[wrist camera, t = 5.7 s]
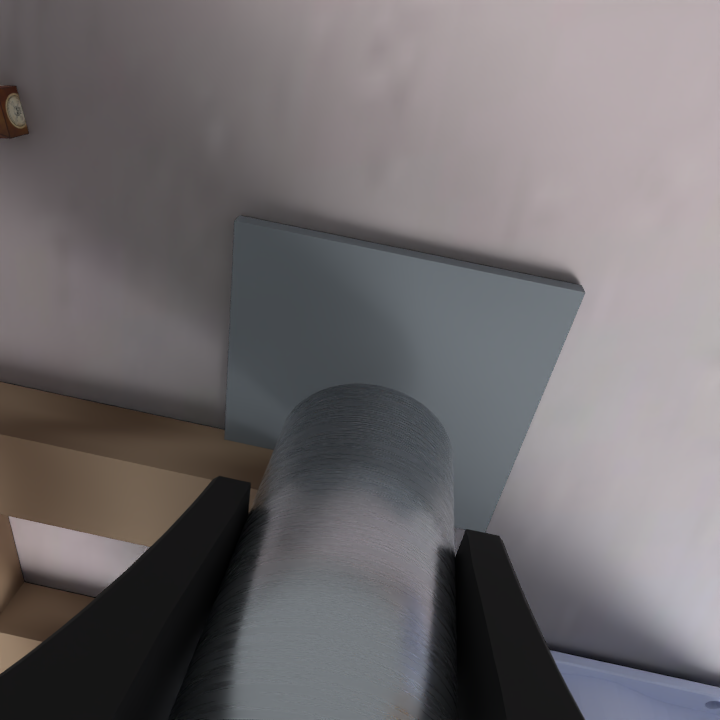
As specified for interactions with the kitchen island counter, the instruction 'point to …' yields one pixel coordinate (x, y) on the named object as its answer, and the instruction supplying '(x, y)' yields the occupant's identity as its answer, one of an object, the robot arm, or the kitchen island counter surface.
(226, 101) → the kitchen island counter surface
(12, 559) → the pocket block
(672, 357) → the kitchen island counter surface
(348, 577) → the peg
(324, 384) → the grey square plate
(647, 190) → the kitchen island counter surface
